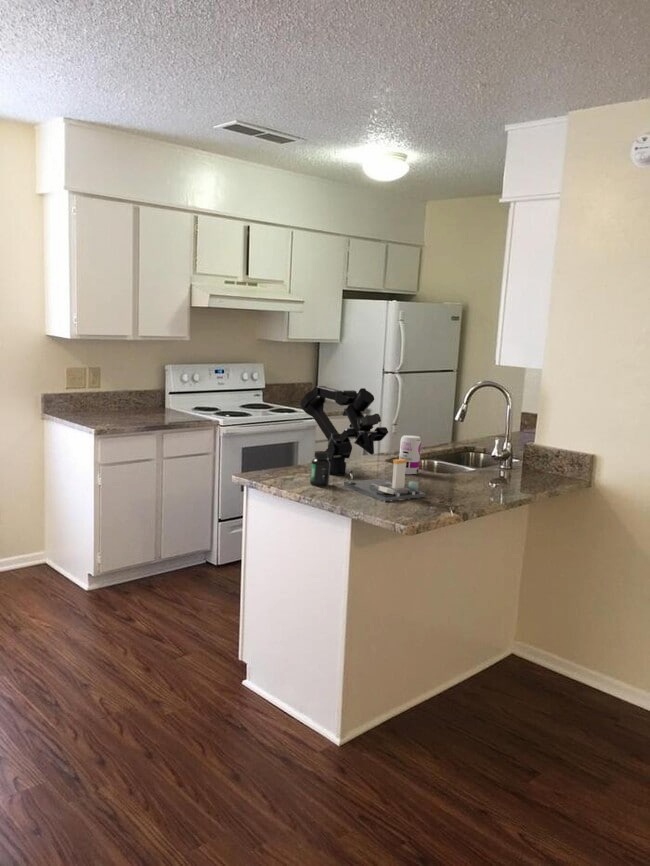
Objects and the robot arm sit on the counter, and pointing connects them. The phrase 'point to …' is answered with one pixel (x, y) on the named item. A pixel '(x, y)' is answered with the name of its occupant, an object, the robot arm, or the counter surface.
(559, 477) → the counter surface
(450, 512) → the counter surface
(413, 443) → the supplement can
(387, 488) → the rocker switch
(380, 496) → the console
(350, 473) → the toggle lever
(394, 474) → the slide paddle
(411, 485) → the push button
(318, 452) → the supplement bottle
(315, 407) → the robot arm
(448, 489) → the counter surface
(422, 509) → the counter surface
